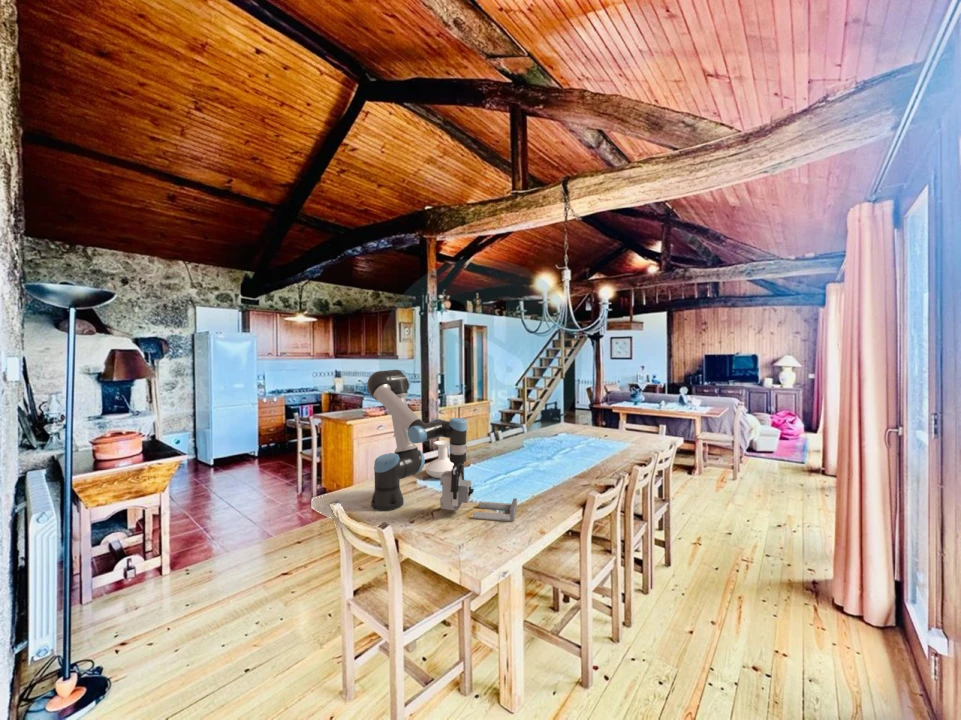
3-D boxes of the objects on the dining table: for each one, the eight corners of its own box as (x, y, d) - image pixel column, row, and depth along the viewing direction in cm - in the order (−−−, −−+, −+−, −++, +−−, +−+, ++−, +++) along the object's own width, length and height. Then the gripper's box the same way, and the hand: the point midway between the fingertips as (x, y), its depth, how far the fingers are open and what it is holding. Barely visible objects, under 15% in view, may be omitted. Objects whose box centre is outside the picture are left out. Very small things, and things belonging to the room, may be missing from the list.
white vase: (447, 467, 252) (446, 436, 251) (467, 475, 236) (466, 442, 235) (419, 474, 239) (418, 442, 238) (438, 483, 224) (437, 449, 223)
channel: (473, 518, 179) (473, 507, 179) (479, 506, 192) (479, 496, 192) (513, 521, 176) (513, 510, 176) (516, 509, 189) (516, 498, 188)
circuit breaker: (470, 511, 181) (471, 478, 180) (440, 508, 183) (440, 475, 182) (474, 504, 188) (474, 472, 187) (444, 501, 191) (445, 470, 190)
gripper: (460, 460, 173) (460, 512, 175) (471, 447, 193) (470, 494, 195) (443, 458, 175) (443, 510, 176) (455, 446, 195) (455, 492, 196)
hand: (457, 501), depth 185 cm, fingers closed on circuit breaker, 7 cm apart
